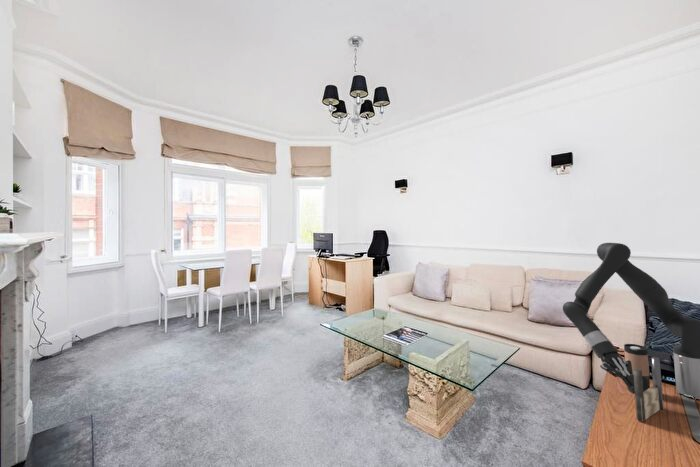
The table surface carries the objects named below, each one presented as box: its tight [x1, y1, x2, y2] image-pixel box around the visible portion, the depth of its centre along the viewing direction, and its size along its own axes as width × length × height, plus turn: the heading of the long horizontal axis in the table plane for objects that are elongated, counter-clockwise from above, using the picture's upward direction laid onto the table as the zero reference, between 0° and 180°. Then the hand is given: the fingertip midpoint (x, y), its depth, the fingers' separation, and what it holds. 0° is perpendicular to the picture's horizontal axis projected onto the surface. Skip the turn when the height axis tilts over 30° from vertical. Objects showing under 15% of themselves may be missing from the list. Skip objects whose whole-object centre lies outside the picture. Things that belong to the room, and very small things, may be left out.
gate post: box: [650, 356, 664, 411], centre depth 118 cm, size 2×2×20 cm
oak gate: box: [633, 369, 661, 423], centre depth 113 cm, size 15×2×18 cm, turn 116°
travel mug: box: [623, 343, 651, 395], centre depth 130 cm, size 8×8×20 cm
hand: (633, 387), depth 112 cm, fingers closed
